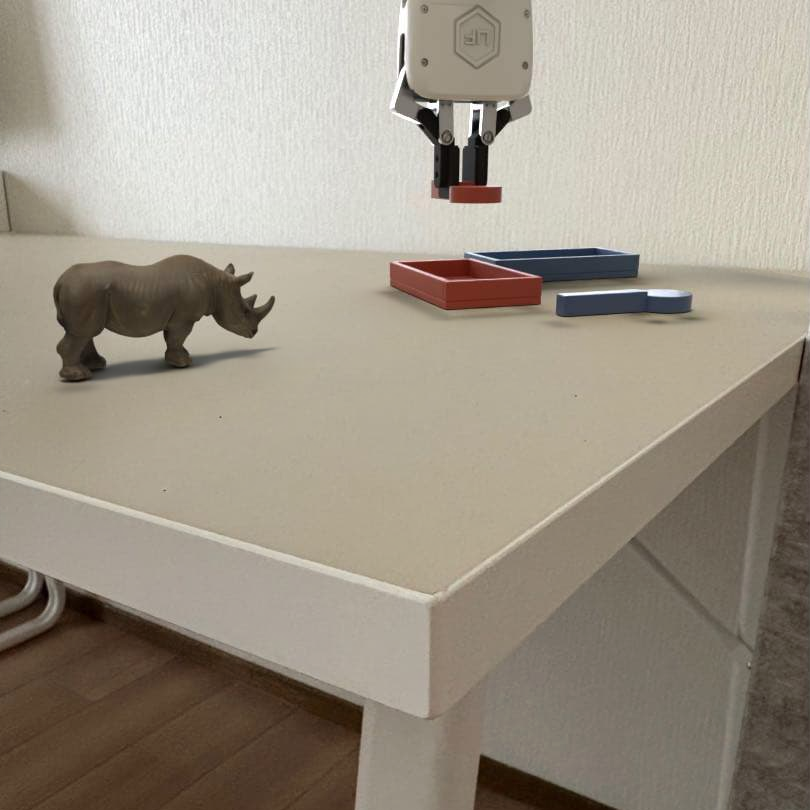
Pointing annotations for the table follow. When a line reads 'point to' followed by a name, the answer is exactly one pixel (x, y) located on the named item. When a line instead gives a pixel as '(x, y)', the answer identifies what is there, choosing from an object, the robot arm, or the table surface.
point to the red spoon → (470, 193)
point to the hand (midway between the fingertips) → (460, 196)
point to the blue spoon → (623, 302)
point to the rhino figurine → (148, 306)
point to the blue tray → (565, 262)
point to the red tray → (465, 283)
